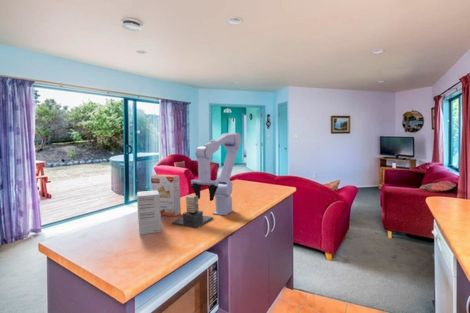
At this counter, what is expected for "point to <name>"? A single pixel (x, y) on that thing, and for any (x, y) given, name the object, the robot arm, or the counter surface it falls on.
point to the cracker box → (167, 193)
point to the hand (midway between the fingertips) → (204, 199)
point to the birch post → (192, 203)
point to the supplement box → (149, 212)
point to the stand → (192, 219)
